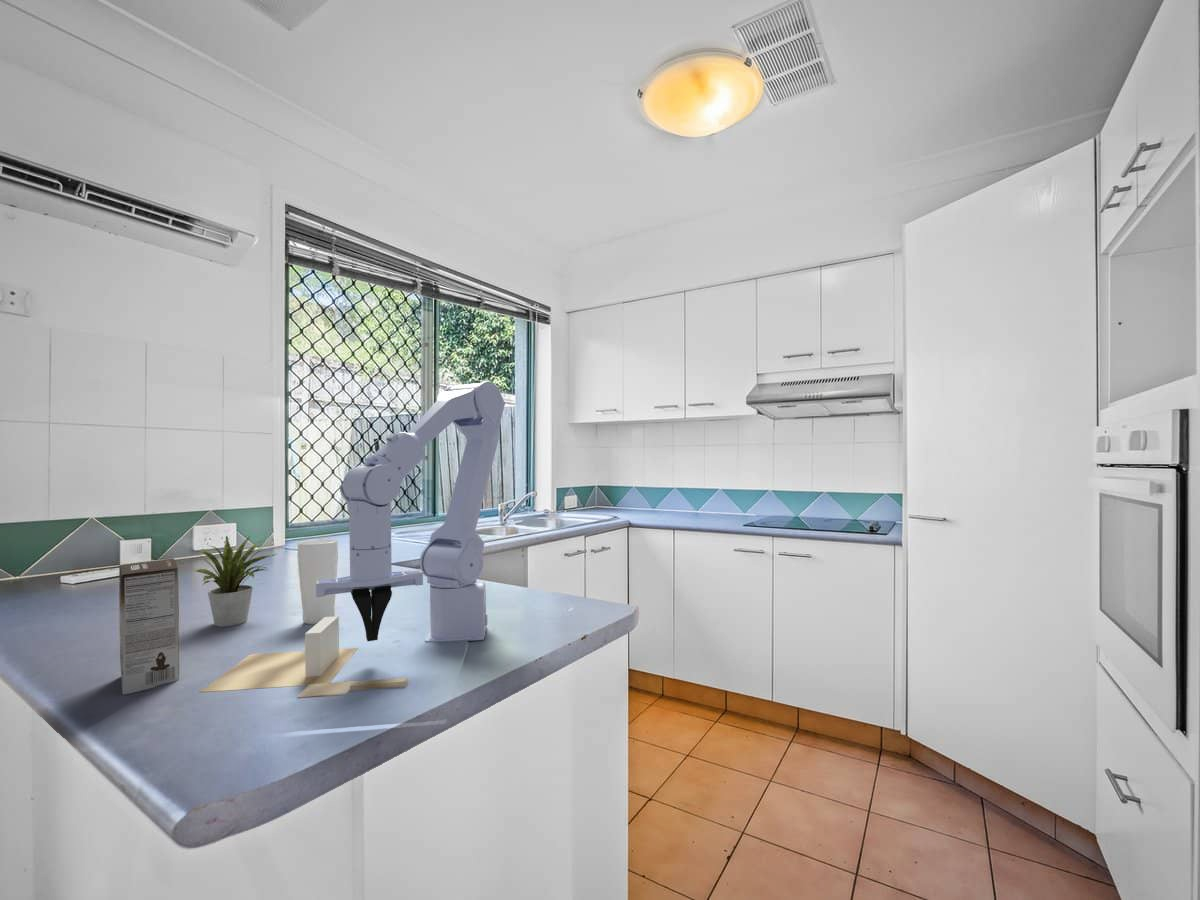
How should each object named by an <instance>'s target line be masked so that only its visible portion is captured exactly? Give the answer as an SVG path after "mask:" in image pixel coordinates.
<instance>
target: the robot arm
mask: <svg viewBox="0 0 1200 900" xmlns="http://www.w3.org/2000/svg"><path fill="white" fill-rule="evenodd" d="M436 399H437V400H436V401H435V402H434V403H433V404H432V405H431V407H430V408H428V410H427V411H426V412H425V413H424V414H423V415H422V417H421V418H420V419H418V421H417V422H416V423H415V424H414V425H413V426H412V427H411V428H410V429H409V431H407V432H406V431H399V432H396V433H390V434H389V435H387V437H386V438H385V440H386V442H385V443H384V444H383V445H382V446H381V447H380V448H379V449H377V450H376V452H374V453H373V454H369V455H368V456H367V457H366V458H365V462H364V464H363V465H358V466H355V467H353V468H352V467H351V468H350V469H349V470H348V471H347V473H346V474H345V476H344V479H343V482H342V483H341V484H340V485H339V491H340V495H341V497H342V498H343V499H344V501H345V502H346V505H347V506H346V507H347V513H349V514H348V517H349V518H348V519H349V520H348V521H349V522H348V523H349V525H348V526H349V527H348V528H349V531H348V533H349V576H342V577H337V578H335V579H329V580H322V581H316V596H317V597H324V596H325V595H331V594H335V595H339V594H346V593H350V594H351V597H352V599H353V602H354V604H355V605H356V608H357V609H358V611H359V614H360V617H361V619H362V622H363V626H364V630H365V638H366V642H374V641H378V639H379V631H380V629H381V628H380V627H381V624H382V619H383V617H384V613H385V612H386V609H387V608H388V605H389V603H390V601H391V599H392V595H393V590H392V588H396V587H397V588H399V587H400V588H401V587H406V586H407V587H408V586H423V585H424V576H425V577H426V583H427V584H429V606H430V609H429V611H430V614H429V615H430V620H429V622H430V626H429V628H430V630H429V632H428V634H427V635H426V637H425V639H424V642H425V643H438V642H439V643H440V642H453V641H455V642H456V641H457V642H458V641H468V642H470V641H471V642H472V641H484V639H485V636H486V631H487V626H488V614H487V590H486V582H483V581H481V582H480V581H479V582H477V579H478V578H479V577H480V575H481V573H482V571H483V569H484V568H483V567H484V556H483V552H484V547H485V542H484V540H483V538H482V537H481V536H480V535H479V533H478V532H477V531H476V530H477V526H478V523H479V518H480V514H481V510H482V506H483V503H484V502H483V501H484V497H485V494H486V490H487V487H488V482H489V479H490V475H491V472H492V467H493V463H494V459H495V456H496V451H497V447H498V444H499V440H500V439H499V438H500V425H501V420H502V419H503V418H502V417H503V412H504V410H505V409H504V408H505V406H506V402H505V400H504V398H503V395H502V392H501V390H500V388H499V387H498V386H497V385H496V384H495V383H494V382H492V381H483V382H476V383H469V384H459V385H457V384H451V385H449V386H447V387H445V389H444V390H443V391H442V392H440V393H438V395H437V398H436ZM451 424H453V425H454V426H455V427H456V429H457V430H458V431H459V432H460V433H461V434H462V435H464V438H465V439H466V443H465V446H464V449H463V454H462V458H461V461H460V464H459V469H458V472H457V475H456V479H455V483H454V487H453V489H452V495H451V498H450V501H449V504H448V509H447V512H446V515H445V519H444V523H443V524H442V525H440V526H439V528H437V529H435V530H434V531H433V532H432V533H431V534H430V538H429V540H428V543H427V544H426V546H424V549H423V550H422V552H421V553H420V558H419V568H420V569H419V570H417V569H416V570H403V571H400V570H399V571H398V570H397V571H393V570H392V511H391V510H392V506H391V505H392V501H394V500H396V499H397V497H398V495H399V493H400V491H401V490H400V489H401V484H402V483H403V481H404V479H405V478H406V477H407V476H408V475H410V473H411V472H412V471H413V470H414V469H415V468H416V467H417V466H418V465H419V463H420V462H421V461H422V460H423V459H424V458H425V455H426V450H425V447H426V446H428V444H429V443H430V442H432V441H433V440H434V439H435V438H436V437H437V436H439V435H440V434H441V433H442V432H443V431H444V430H445V429H447V428H448V427H449V426H450V425H451Z"/></svg>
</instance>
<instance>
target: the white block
mask: <svg viewBox="0 0 1200 900" xmlns="http://www.w3.org/2000/svg"><path fill="white" fill-rule="evenodd" d="M339 617H340V616H334V617H324V618H323V619H322V620H321V621H320V622H318V623H317V624H315V625H313V627H311V628H310V629H309V630H307V631H306V632H305V633H304V648H305V649H304V651H305V676H306V677H311V676H321V675H322V674H323V673H324V672H325V671H326V670H327V668H328V667H329V666H330V665H331V664H332V663H333V662H334V661H335V660H336V658H337V657H338V656H339V649H340V627H339V626H340V623H339V622H340V621H339Z"/></svg>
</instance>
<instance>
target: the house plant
mask: <svg viewBox="0 0 1200 900" xmlns="http://www.w3.org/2000/svg"><path fill="white" fill-rule="evenodd" d="M250 537H251V535H249V536H248V537H247V538H246V539H245V540H244V541H243V542H242V543H241V544H240V546H239V547H238V548H237V549H236V551H235V553H234V549H232V547H231V544H230V543H229V542H230V541H229V537H228V535H226V536H225V543H224V546H223V552H221V550H220V549H219V548H217V547H215V546H213V545H209V547H211V548H214V549H215V550H216V551H217V552H218V554H219V556H220V558H221V563H220V562H219V559H218V558H217V557H216V556H215V555H214V554H212V552H210V551H208V550H206V549H204V548H201V549H200V551H198V552H199V553H201V554H204V555H205V556H206V557H208V558H209V560H211V562H212V563H213V564H214V566H215V567H214V566H213V564H212V563H210V562H209V561H208V560H207V559H206V558H204V557H203V556H202V555H200V554H198V553H196V555H197V556H199V557H201V558H202V559H203V560H204V561H205V562H206V563H207V564H208V565H209V566H211V567H212V568H213V570H214V572H215V573H216V574H215V573H214V572H213V571H211V570H208V569H205V568H199V569H196V570H194V571H193V573H200V574H205V575H203V579H202V582H204V583H203V584H202V586H204V585H205V584H208V583H210V582H211V580H209V579H214V580H212V582H214V583H216V585H217V586H218V587H216V588H212V589H210V590H209V591H207V594H208V599H209V605H210V609H211V615H212V618H213V619H212V620H213V624H214V626H215V627H223V628H224V627H232V626H237V625H241V624H243V623H246V622H247V621H248V618H249V611H250V606H251V599H252V593H253V589H254V588H253V585H250V584H243V583H244V582H242V581H244V580H245V579H246V578H247V576H248V577H250V576H251V577H252V578H253V579H255V574H254V573H256V572H259V571H261V572H262V571H266V572H267V571H268V570H269V571H270V569H269V568H268V567H266V565H268V563H266V564H263V565H261V566H260V565H257V566H256V565H255V566H251V565H252V564H255V563H257V562H259V561H261V560H264V559H266V558H271V557H274V556H276V555H278V554H276V553H275V554H266V555H262V556H258V557H254V556H256V554H258V553H260V552H263V551H265V549H263V548H265V547H266V548H267V547H269V546H271V544H269V545H264V546H261V547H259V548H258V549H256V547H257V546H259V544H261V543H262V542H264V541H263V540H262V541H260V542H256V543H254V544H252V545H251V547H249V549H248V550H246V551H245V553H244V554H243V552H244V550H245V549H246V547H245V546H246V544H247V542H248V541H249V539H250ZM274 545H275V543H274V544H272V546H274ZM255 549H256V550H255ZM258 550H259V551H258ZM233 553H234V554H233ZM242 554H243V555H242ZM252 554H253V555H252ZM251 555H252V556H251ZM250 556H251V557H250ZM248 557H250V558H249V560H247V559H248ZM253 557H254V558H253ZM246 560H247V561H246ZM221 564H222V565H221ZM271 564H272V563H270V565H271ZM250 566H251V567H250ZM248 567H250V568H248ZM247 568H248V569H247ZM251 570H252V571H251ZM269 571H268V572H269Z"/></svg>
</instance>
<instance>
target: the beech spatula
mask: <svg viewBox="0 0 1200 900" xmlns="http://www.w3.org/2000/svg"><path fill="white" fill-rule="evenodd" d="M407 685H408V677H406V676H405V677H396V678H395V677H394V678H383V679H381V678H380V679H370V680H357V681H356V680H348V681H347V680H346V681H337V682H330V683H322V684H310V685H306V687H305V688H304V689H303V690H302V691H301V692H300V693H299V695H298V696H297V697H296V699H303V698H304V699H305V698H317V697H331V696H332V697H333V696H346V695H348V694H349V693H350V692H351V691H361V690H376V689H377V690H378V689H390V688H391V689H392V688H405V687H406V686H407Z"/></svg>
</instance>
